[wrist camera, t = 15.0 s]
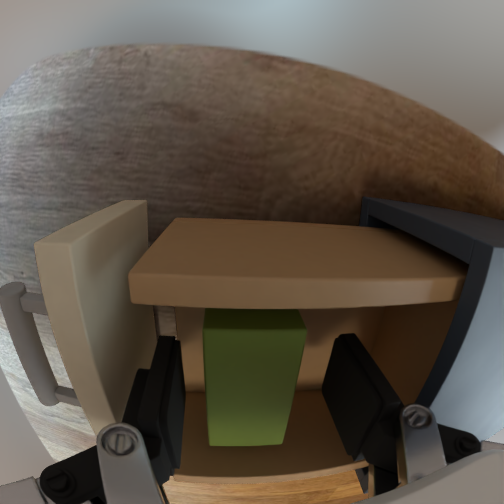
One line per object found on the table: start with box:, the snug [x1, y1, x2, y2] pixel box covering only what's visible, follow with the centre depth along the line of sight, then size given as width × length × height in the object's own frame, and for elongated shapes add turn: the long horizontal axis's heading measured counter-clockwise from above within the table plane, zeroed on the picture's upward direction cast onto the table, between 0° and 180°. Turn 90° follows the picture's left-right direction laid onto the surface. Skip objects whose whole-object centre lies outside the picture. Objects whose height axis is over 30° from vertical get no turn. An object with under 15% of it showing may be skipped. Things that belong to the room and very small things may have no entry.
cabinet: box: [355, 197, 504, 494], centre depth 12 cm, size 15×13×9 cm
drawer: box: [0, 200, 469, 484], centre depth 11 cm, size 18×11×7 cm, turn 87°
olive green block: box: [202, 308, 307, 446], centre depth 11 cm, size 6×3×4 cm, turn 177°
